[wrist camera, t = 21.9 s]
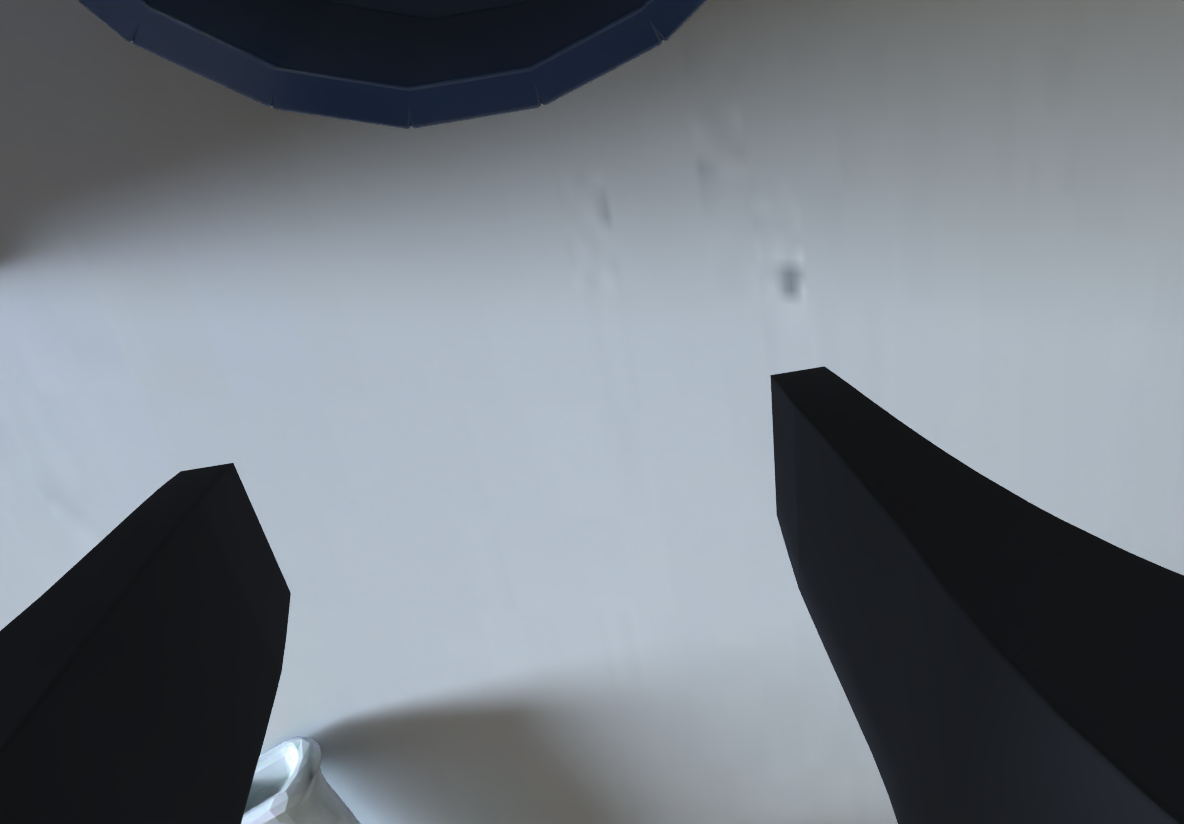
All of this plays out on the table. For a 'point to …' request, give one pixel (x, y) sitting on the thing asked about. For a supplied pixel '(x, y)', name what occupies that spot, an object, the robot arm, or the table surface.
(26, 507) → the table surface
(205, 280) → the table surface
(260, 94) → the tin
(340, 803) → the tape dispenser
